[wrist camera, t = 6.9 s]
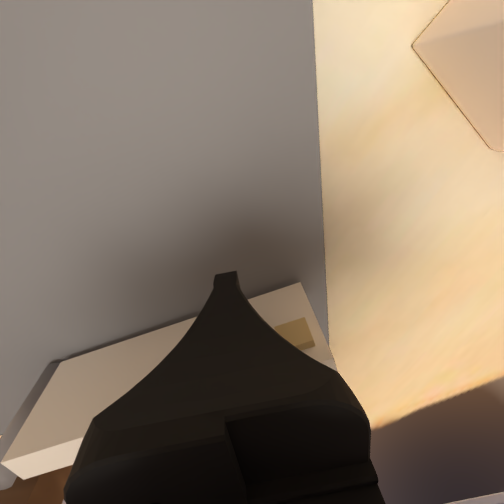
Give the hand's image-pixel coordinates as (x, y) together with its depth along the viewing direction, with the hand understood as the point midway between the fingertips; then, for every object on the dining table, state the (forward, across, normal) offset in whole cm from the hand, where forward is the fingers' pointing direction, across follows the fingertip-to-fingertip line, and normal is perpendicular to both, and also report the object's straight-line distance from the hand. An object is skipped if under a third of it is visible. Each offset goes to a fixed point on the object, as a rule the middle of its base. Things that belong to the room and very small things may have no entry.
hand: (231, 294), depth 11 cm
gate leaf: (+2, +3, +3) cm, 5 cm away
